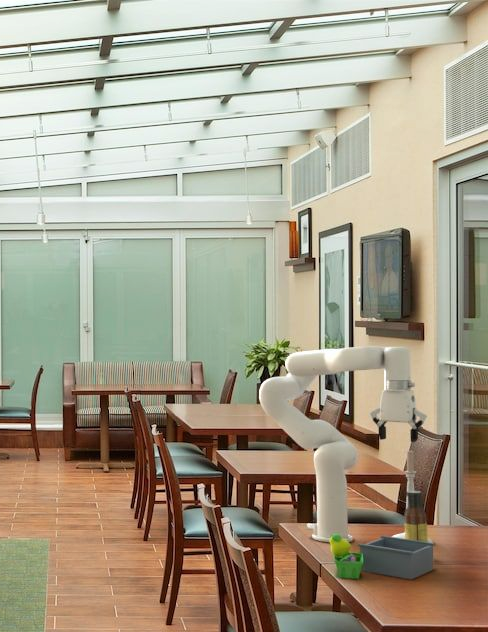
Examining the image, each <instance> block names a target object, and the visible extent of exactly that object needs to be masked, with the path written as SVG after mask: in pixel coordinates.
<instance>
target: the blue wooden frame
mask: <svg viewBox="0 0 488 632" xmlns="http://www.w3.org/2000/svg"><path fill="white" fill-rule="evenodd" d="M435 545H436V543H435V542H433V543H430V542H423V541H416V540H410V539H403V538H396V537H392V536H389V535H384V534H383V535H380V538H379V539H375V540H373V541H370V542H367V543H357V547H359V553H361V554H363V565H362V567H361V571H360V572H366V573H371V574H372V573H373V574H378V575H383V576H389V577H394V578H399V579H400V578H401V579H405V580H413V579H414V580H415V579H416V578H418V577H420V576H422V575H425V574H427V573H430V572H432V571H433V570H434V546H435Z"/></svg>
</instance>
